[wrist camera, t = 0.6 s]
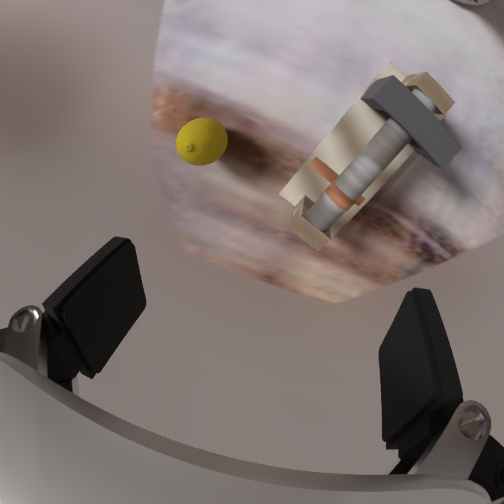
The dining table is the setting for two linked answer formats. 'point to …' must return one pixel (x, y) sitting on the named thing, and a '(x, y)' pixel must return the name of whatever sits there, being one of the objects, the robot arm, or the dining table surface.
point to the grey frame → (412, 119)
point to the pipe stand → (355, 161)
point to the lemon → (201, 141)
